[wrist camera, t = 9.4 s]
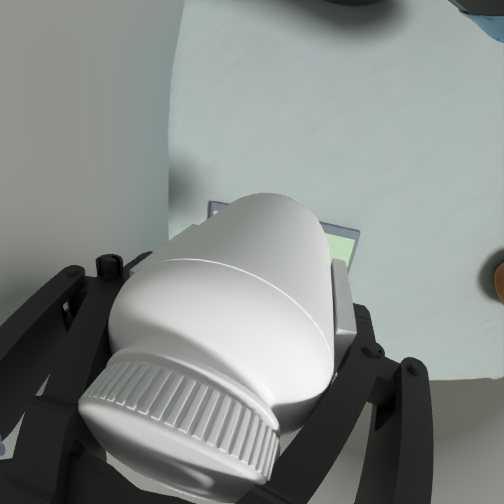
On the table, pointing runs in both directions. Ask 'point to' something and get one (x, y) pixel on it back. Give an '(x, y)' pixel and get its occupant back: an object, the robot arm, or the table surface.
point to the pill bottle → (218, 350)
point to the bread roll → (499, 281)
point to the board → (338, 237)
